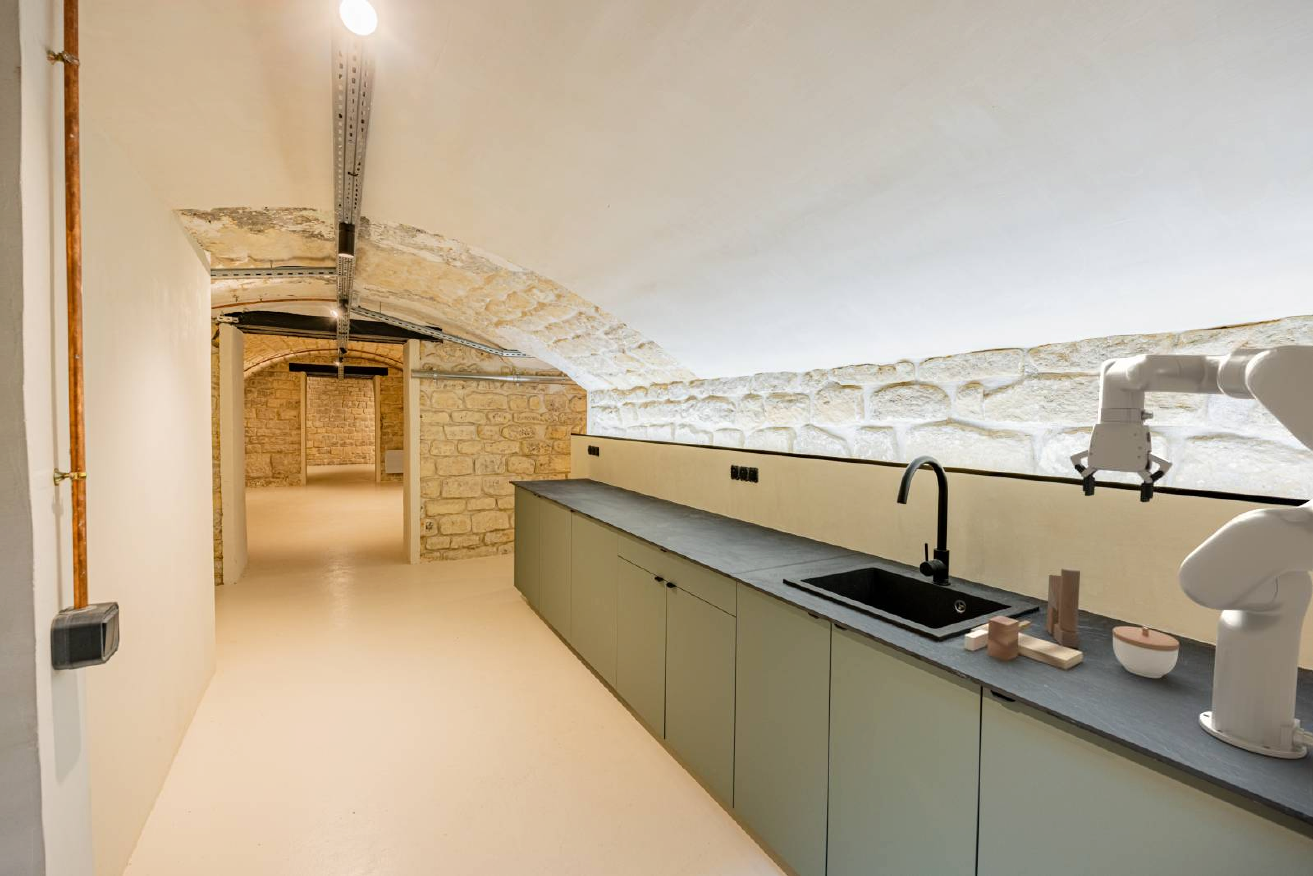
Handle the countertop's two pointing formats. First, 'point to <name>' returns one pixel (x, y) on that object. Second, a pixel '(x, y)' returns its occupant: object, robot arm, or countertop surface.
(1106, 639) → the countertop surface
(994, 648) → the upright brown wood block
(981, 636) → the end stop
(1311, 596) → the robot arm
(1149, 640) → the lidded jar
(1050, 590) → the wooden block
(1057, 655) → the oak board
